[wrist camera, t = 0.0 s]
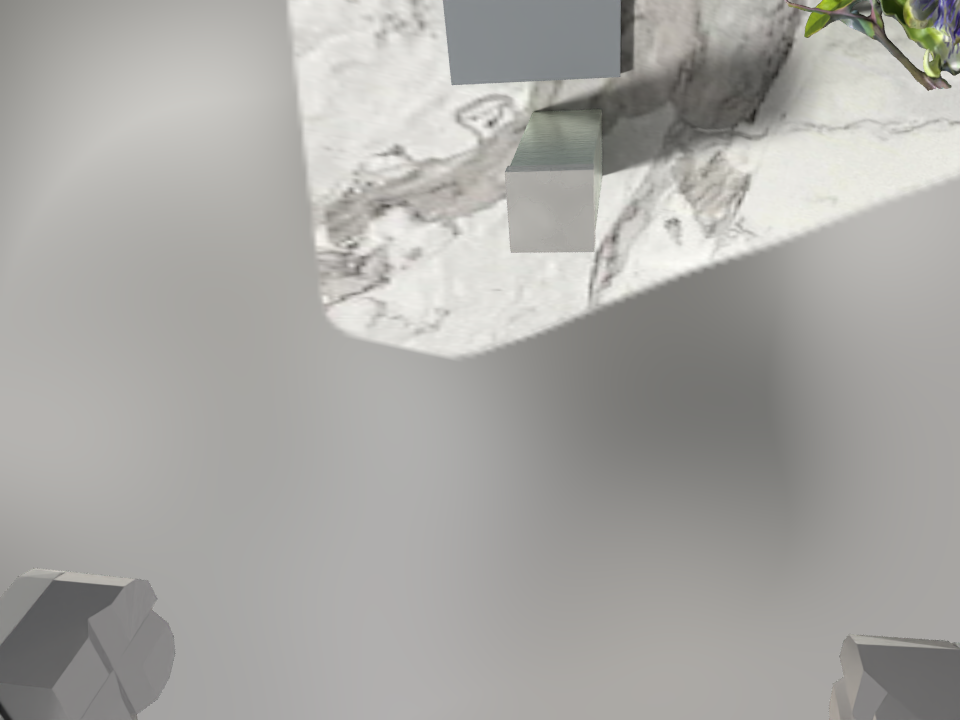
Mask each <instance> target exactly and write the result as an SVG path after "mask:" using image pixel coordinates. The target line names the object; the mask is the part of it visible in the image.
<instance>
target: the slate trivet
mask: <svg viewBox="0 0 960 720" xmlns="http://www.w3.org/2000/svg"><path fill="white" fill-rule="evenodd" d="M443 5H444V15H445V24H446V34H447V44H448V53H449V63H450V73H451V82H452V85H463V84H484V83H504V82H525V81H546V80H566V79H587V78H608V77H620V73H621V0H443Z"/></svg>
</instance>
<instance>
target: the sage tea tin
mask: <svg viewBox="0 0 960 720" xmlns="http://www.w3.org/2000/svg"><path fill="white" fill-rule="evenodd" d="M505 181H506V194H507V208H508V222H509V235H510V249H511V253H519V252H594V251H595V228H596V221H597V213H598V205H599V198H600V190H601V182H602V109H589V110H565V111H541V112H533V113H532V115H531V118H530V120H529V122H528V125H527V127H526V129H525V132H524V134H523V137H522V139H521V141H520V144H519V146H518V149H517V151H516V153H515V156H514V158H513V160H512V163H511V165H510V166H507V168H506V171H505Z"/></svg>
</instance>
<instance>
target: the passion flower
mask: <svg viewBox="0 0 960 720" xmlns="http://www.w3.org/2000/svg"><path fill="white" fill-rule="evenodd" d="M861 1H868V2H870V4H871V6H872V11H871V15H870V16H868V17H866V16H864V15H862V14H859V12H858V11H857V10H853V11H851V10H852V8H853V6H854V5H855V4H856V3H858V2H861ZM879 1H880V3H878V2H877V0H822V2H821V3H819V4H818V5H817V6H816V7H815V8H809V7H806V6H803V5H798V4H794V3H791V2H789V1H788V0H785V2H786V3H787V4H788V6H789V7H795V8H798V9H801V10H804V11H808V12H812V13H811V15H810V16H809V19H808V21H807V24H806V27H805V35H804V37H806V38H809V37H810V36H811V35H813V34H814V33H816V32H818V31H819V30H821V29H822V28H824V27H826V26H827V25H828V24H830V23H831V22H834V21H836V20H840V21H842V22H843V23H845V24H846V25H847V26H849V27H851V28H853V29H855V30H858V31H860V32H862V33H864V34H866V35H867V36H869V37H871V38H872V39H875V40H878V41H879V42H881V43H882V44H883V45H884V47H886V48H887V49H888V51H889V52H890V53H891V54H892V55H893V56H894V57H896V58H897V59H898V60H899V61H900V62H901V63H902V64H903V65H904V66H905V67H906V68H907V69H908V70H909V71H910V73H911V74H912V75H913V77H914V78H915V79H916V80H917V82H919V83H920V84H922V85H923V86H924V87H925V88H926V89H927V90H928V91H929V90H933V89H936V87H937V88H939V89H943V88H945V89H948V88H951V85H950V84H948V82H947V81H946V80H945V79H943V78H942V77H941V76H940V75H941V74H940V73H941V71H948V72H950V73H951V74H952V75H954V76H955V75H957V74H959V73H960V0H879ZM882 12H883V13H884V15H885V16H889V17H893V18H894V19H896V20H897V21H898V22H899V23H900V24H901V25H902V26H903V28H904V30H905V32H906V34H907V36H908V38H909V39H911V40H913V41H915V42H916V43H917V44H918V45H919V46H920V47H921V48H925V49H926V52H925V54H924V58H923V60H924V62H923V67H924V71H925V72H922V71H920V70H919V69H917V68H916V67H915V66H914V65H913V64H912V63H911V62H910V61H909V59H908V58H906V57H905V56H904V55H903V53H902V52H901V51H900V50H899V49H898V48H897V47H896V46H895V45H894V44H893V43H892V42H891V41H890V40H889V39H888V38H887V36H886V34H885V30H884V22H883V19H882V16H881V15H882ZM929 52H930V53H931V55H932V57H933V61H931V62H929Z"/></svg>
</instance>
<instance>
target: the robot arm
mask: <svg viewBox="0 0 960 720" xmlns="http://www.w3.org/2000/svg"><path fill="white" fill-rule="evenodd" d="M156 601H157V597H156V595H155V593H154V591H153V589H152V587H151V585H150V583H149V581H148V580H141V579H131V578H123V577H114V576H105V575H95V574H87V573H78V572H68V571H57V570H46V569H35V568H33V569H31V570H29V571H28V572H26V573H24V574H22V575H20V576H18V578H17V579H16V580H15V581H14V582H13V583H12V584H11V586H10V587H9V588H8V589H7V590H6V591H5V592H4V594H3V595H2V596H1V597H0V720H138V719H137V714H138V713H139V712H141V711H142V710H144V709H145V708H146V707H147V706H149V705H150V704H152V703H153V702H155V701H156V700H157V699H158V698H159V696H160V694H161V692H162V690H163V689H164V687H165V685H166V683H167V681H168V679H169V677H170V673H171V669H172V665H173V661H174V657H175V645H174V636H173V633H172V631H171V628H170V626H169V624H168V623H167V622H166V621H165V620H164V619H163V618H162V617H160V616H159V615H158V614H157V613H155V612H154V611H153V610H152V608H153V606H154V604H155V602H156ZM839 657H840V661H841V666H842V670H843V674H844V677H842V678H841V679H839V680H838V681H836V682H835V683H833V687H832V693H831V697H830V703H829V720H960V643H955V642H954V643H950V642H949V641H943V640H928V639H913V638H898V637H883V636H868V635H853V634H849V635H848V636H847V637H846V639H845V640H844V641H843V645H842V649H841V652H840V656H839Z"/></svg>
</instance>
